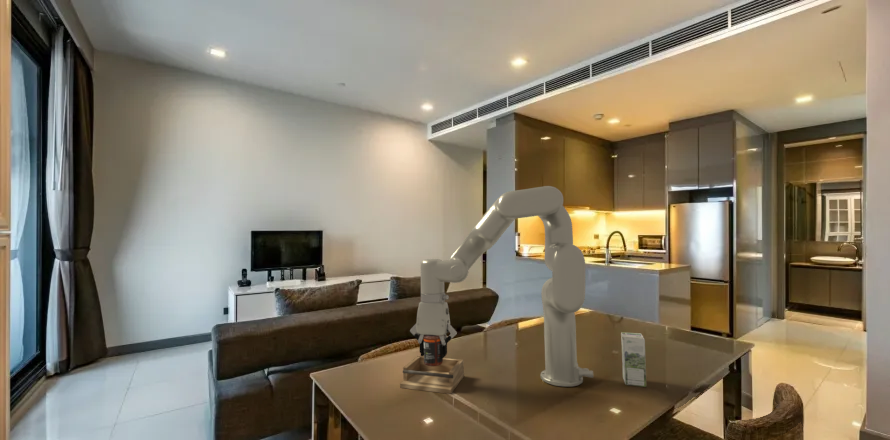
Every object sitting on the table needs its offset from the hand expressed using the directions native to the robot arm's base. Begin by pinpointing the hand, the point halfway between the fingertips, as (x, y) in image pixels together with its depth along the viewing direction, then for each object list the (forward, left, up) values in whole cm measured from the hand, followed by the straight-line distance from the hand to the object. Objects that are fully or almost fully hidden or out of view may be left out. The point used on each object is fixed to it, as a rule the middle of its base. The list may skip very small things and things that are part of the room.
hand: (433, 355), depth 114 cm
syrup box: (-59, -15, -8) cm, 62 cm away
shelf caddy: (0, +1, -8) cm, 8 cm away
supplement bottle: (0, 0, -3) cm, 3 cm away
